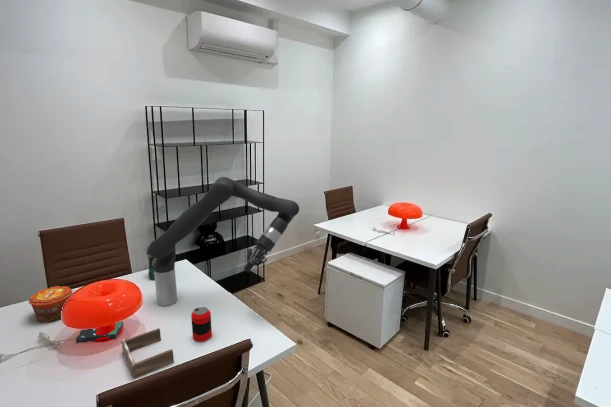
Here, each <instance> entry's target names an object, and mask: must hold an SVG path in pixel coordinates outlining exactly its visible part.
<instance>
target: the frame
mask: <svg viewBox="0 0 611 407" xmlns="http://www.w3.org/2000/svg"><path fill="white" fill-rule="evenodd" d="M160 341H162V336H161V328H159V327H158V328H156V329H153V330H149V331H147V332H144V333H141V334H138V335H134V336H132V337H129V338H126V339H125V338H122V339H121V348H122V353H123V356H124V358H125V361H126V363H127V366H128V368H129V369H128V370H129V371H130V373H131V376H132V379H136V378H139V377H142V376H144V375H146V374H149V373H150V372H154V371H156V370H159V369H161V368H164V367H167V366H168V365H171V364H173V363H175V361H174V350H173V349H168V350H165V351H163V352H161V353H158V354H155V355H152V356H151V357H148V358H145V359H142V360H139V361H137V362H135V360H134V358H133V355H132V353H131V352H133V351H136V350H138V349H141V348H144V347H147V346H150V345H153V344H154V343H158V342H160Z"/></svg>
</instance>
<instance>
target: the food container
mask: <svg viewBox="0 0 611 407" xmlns="http://www.w3.org/2000/svg"><path fill="white" fill-rule="evenodd" d="M71 295H72V296H73V289H72V288H70V287H69V286H65V285H63V286H60V285H57V286H51V287H49V288H44V289H41V290H38V291H37V292H36V293H35V294H32V295H31V296H30V298H29V299H28V304H29V305H31V307H32V310H33V312H34V313H33V314H35V315H34V316H35V318H36V321H37V322H39V323H43V322H47V323H52V321H53V322H56V321H60V320H62V319H61V311H62V307H63V305H64V303H65V302H66V300H67V299H68V298H69V297H70V296H71ZM72 296H71V297H72ZM59 319H60V320H59Z"/></svg>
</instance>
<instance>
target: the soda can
mask: <svg viewBox="0 0 611 407" xmlns="http://www.w3.org/2000/svg"><path fill="white" fill-rule="evenodd" d="M190 318H191V328H192V329H191V331H192V339H193V340H194V341H196V342H197V343H201V342H206V341H209V340H210V339H211V337H212V335H213V332H212V329H213V328H212V312H211V310H209V309H208V308H207V307H206V306H205V307H204V306H199V307H197V308H195V309H194V310H193V311H192V312H191V314H190Z"/></svg>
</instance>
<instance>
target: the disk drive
mask: <svg viewBox="0 0 611 407" xmlns="http://www.w3.org/2000/svg"><path fill="white" fill-rule="evenodd" d="M120 321H121V322H118V323H116V324H115V325H116V327H115V329H114V330H113V331H112V332H110V333H108V334H105V335H96V334H95V329H87V330H82V329H81V330H80V332H79V335H77V336H76V337H75V342H76V344H79V343H78V342H84V343H89V342H88V341H92V342H95V341H94V340H96V339H97V338H99V337H100V338H101V337H107V338H109V339H111V340H117V338H118V336H119V335H118V333H119V330H120V329H121V327H122V328H123V326H124V322H123V320H120ZM121 330H122V329H121ZM119 334H120V333H119Z"/></svg>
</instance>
